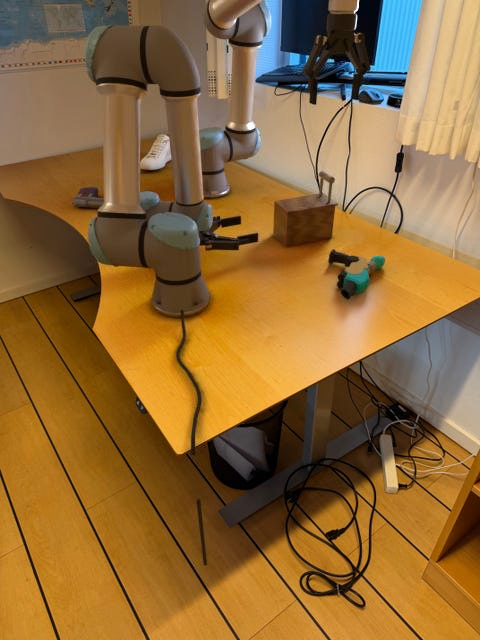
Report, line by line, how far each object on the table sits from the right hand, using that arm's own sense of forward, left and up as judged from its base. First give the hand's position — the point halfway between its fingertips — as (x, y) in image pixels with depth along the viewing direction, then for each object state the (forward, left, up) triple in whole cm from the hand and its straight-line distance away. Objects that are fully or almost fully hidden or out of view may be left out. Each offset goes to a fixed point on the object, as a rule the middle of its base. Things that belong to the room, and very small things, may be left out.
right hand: (333, 101), depth 135 cm
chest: (-2, -7, -40) cm, 41 cm away
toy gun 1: (-72, -46, -40) cm, 94 cm away
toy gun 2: (+26, -16, -40) cm, 51 cm away
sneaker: (-97, -5, -40) cm, 105 cm away
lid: (-2, -6, -30) cm, 30 cm away
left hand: (-8, -25, -34) cm, 43 cm away
